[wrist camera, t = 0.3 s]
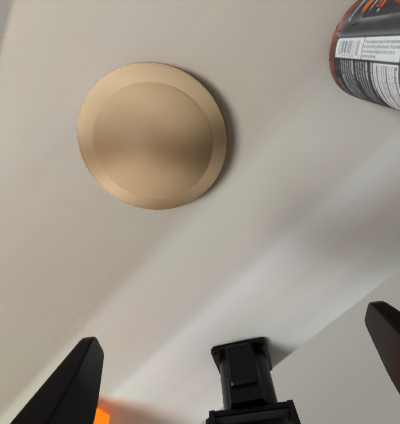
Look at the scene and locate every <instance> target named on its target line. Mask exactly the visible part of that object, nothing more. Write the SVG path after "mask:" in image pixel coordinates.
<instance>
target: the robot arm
mask: <svg viewBox="0 0 400 424" xmlns="http://www.w3.org/2000/svg"><path fill="white" fill-rule="evenodd" d="M365 324H366V327H367V329H368V331H369V333H370V336H371V338H372V340H373V342H374V344H375V347H376V349H377V351H378V353H379V355H380V357H381V360H382V362H383V364H384V366H385V368H386V370H387V372H388V374H389V376H390V378H391V380H392V382H393V383H394V385H395V387H396V389H397V390H398V392H399V393H400V311H398V310H397V309H395V308H394V307H392V306H391V305H389V304H388V303H386V302H384V301H376V302H370V303H369V304H368V307H367V311H366V316H365ZM211 354H212V357H213V359H214V361H215V364H216V366H217V368H218V370H219V373H220V375H221V385H222V395H223V404H224V410H220V411H214V410H212V411H209V418H208V419H206V424H301V423H300V420H299V417H298V414H297V411H296V408H295V406H294V403H293V400H287V401H286V402H277V398H276V394H275V390H274V386H273V382H272V378H271V374H270V371H271V370H272V365H271V360H270V356H269V352H268V348H267V344H266V340H265V339H264V338H259V339H254V340H249V341H244V342H239V343H234V344H229V345H224V346H219V347H214V348H212V349H211ZM103 360H104V353H103V350H102V348H101V346H100V344H99V342H98V340H97V338H96V337H86V338H83V339H81V340H80V341H79V343H78V344H77V345H76V346H75V347H74V349H73V350H72V351H71V352H70V353H69V354H68V356H67V357H66V358H65V359H64V360H63V362H62V363H61V364H60V365H59V366H58V367H57V369H56V370H55V371H54V372H53V373H52V375H51V376H50V377H49V378H48V379H47V381H46V382H45V383H44V384H43V385H42V386H41V388H40V389H39V390H38V391H37V392H36V394H35V395H34V396H33V397H32V398H31V399H30V401H29V402H28V403H27V404H26V405H25V407H24V408H23V409H22V410H21V411H20V412H19V414H18V415H17V416H16V417H15V418H14V420H13V421H12V422H11V423H10V424H94V420H95V415H96V410H97V405H98V398H99V391H100V383H101V375H102V368H103Z"/></svg>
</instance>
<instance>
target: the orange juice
mask: <svg viewBox="0 0 400 424" xmlns="http://www.w3.org/2000/svg"><path fill="white" fill-rule="evenodd" d="M109 417H110V415H108V414H107V413H105V412H103V411H102V410H100V409H98V408H97V410H96V415H95V420H94V424H108V422H109Z"/></svg>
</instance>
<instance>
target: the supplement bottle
mask: <svg viewBox="0 0 400 424" xmlns="http://www.w3.org/2000/svg"><path fill="white" fill-rule="evenodd" d="M329 63H330V69H331V73H332V76H333V78H334V80H335V82H336V83H337V85H338V86H339V87H340V88H341V89H342V90H343V91H345V92H346V93H348V94H349V95H352V96H355V97H357V98H360V99H363V100H366V101H370V102H373V103H376V104H379V105H382V106H386V107H389V108H392V109H395V110H398V111H400V0H358V1H356V2H355V3H354V4H353V5H352V6H351V8H350V9H349V10H348V11H347V12H346V14H345V15H344V16H343V18H342V20H341V21H340V23H339V24H338V26H337V28H336V31H335V33H334V36H333V39H332V44H331V48H330V57H329Z"/></svg>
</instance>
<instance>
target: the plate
mask: <svg viewBox="0 0 400 424" xmlns="http://www.w3.org/2000/svg"><path fill="white" fill-rule="evenodd" d="M77 133H78V143H79V148H80V152H81V155H82V158H83V160H84V162H85V164H86V166H87V168H88V170H89V171H90V173H91V175H92V176H93V177H94V178H95V180H96V181H97V182H98V183H99V184H100V185H101V186H102V187H103V188H104V189H105V190H106V191H107V192H109V193H110V194H111V195H113V196H114V197H116V198H117V199H119V200H121V201H123V202H125V203H128V204H130V205H133V206H136V207H140V208H145V209H154V210H162V209H171V208H176V207H179V206H182V205H185V204H187V203H189V202H191V201H193V200H195V199H196V198H198V197H199V196H201V195H202V194H203V193H204V192H206V191H207V189H208V188H209V187H210V186H211V185H212V184H213V183H214V181H215V180H216V178H217V177H218V175H219V173H220V171H221V169H222V166H223V164H224V160H225V156H226V148H227V135H226V128H225V124H224V120H223V117H222V114H221V112H220V110H219V108H218V106H217V104H216V102H215V100H214V99H213V97H212V96H211V94H210V93H209V92H208V91H207V89H206V88H205V87H204V86H203V85H202V84H201V83H200V82H199V81H198V80H196V79H195V78H194V77H192V76H191V75H190V74H188V73H186V72H184V71H182V70H180V69H178V68H176V67H173V66H170V65H166V64H162V63H153V62H144V63H135V64H131V65H127V66H124V67H121V68H119V69H117V70H114V71H112V72H111V73H109V74H107V75H106V76H104V77H103V78H102V79H101V80H100V81H98V82H97V83H96V84H95V86H94V87H93V88H92V89H91V90H90V92H89V93H88V95H87V97H86V98H85V100H84V102H83V105H82V107H81V110H80V114H79V118H78V127H77Z"/></svg>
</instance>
